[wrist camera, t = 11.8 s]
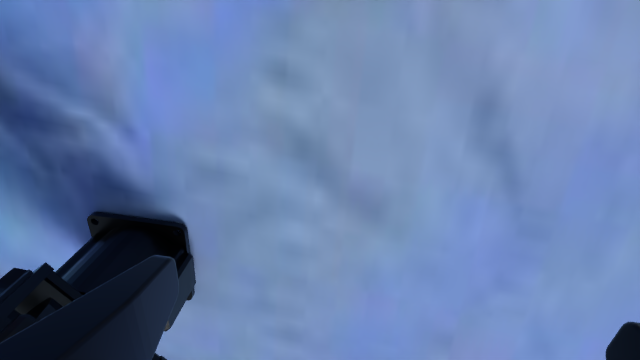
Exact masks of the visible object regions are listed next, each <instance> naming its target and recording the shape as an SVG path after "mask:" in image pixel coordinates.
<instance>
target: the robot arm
mask: <svg viewBox="0 0 640 360" xmlns="http://www.w3.org/2000/svg"><path fill="white" fill-rule="evenodd" d="M97 220H98V221H97ZM87 221H88V225H89V229H90V232H91V236H92V238H91V239H90V240H89V241H88V242H87V243H86V244H85V245H84V246H83V247H82V248H81V249H79V250H78V251H77V252H76V253H75V254H74V255H73V256H72V257H71V258H70V259H69V260H68V261H67V262H66V263H65V264H64V265H62V266H61V267H60V268H59V269H58V270H57V271H56V272H54V271H53V270H54V269H53V268H52V267H51V266H50V265H48V264H47V263H46V262H45V263H44V264H43V265H41V266H40V267H39V268H37V269H36V270H35V271H33V272H32V271H30V270H23V269H18V268H13V269H12V270H11V271H9V272H8V273H7V274H6V275H4V276H3V277H2V278H1V279H0V360H167V359H165V358H164V357H163V356H159V355H158V354H156V353H155V351H156V349H157V346H158V344H159V341H160V339H161V336H162V334H163V331H167V330H169V329H170V328H171V326H172V325H173V323H174V321H175V319H176V317H177V316H178V314H179V312H180V310H181V309H182V307H183V305H184V303H185V301H186V300H191V299H192V297H193V295H194V293H195V291H194V285H195V284H196V280H195V271H194V262H193V256H192V254H191V253H190V248H189V239H188V230H187V228H186V226H185V225H183V224H181V223H176V222H168V221H161V220H153V219H146V218H138V217H131V216H124V215H116V214H109V213H101V212H94V213H92V214H91V215H90V216H88V218H87ZM177 230H179V231H180V232H178V231H177ZM606 360H640V323H637V322H627V323H625V324H623V326H622V327H621V328H620V330H619V331H618V332H617V334H616V335H615V337H614V338H613V340H612V341H611V342H610V344H609V345H608V347H607V349H606Z"/></svg>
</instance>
